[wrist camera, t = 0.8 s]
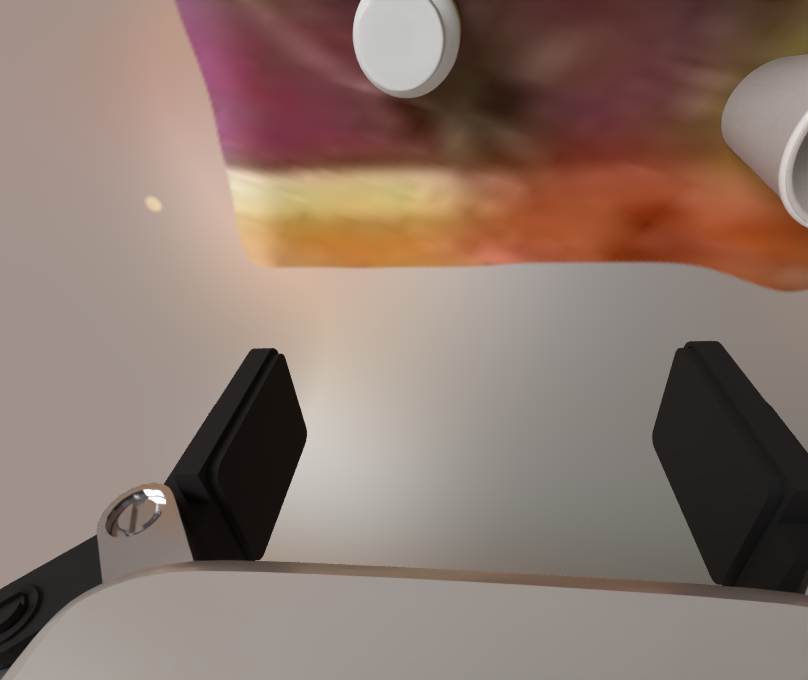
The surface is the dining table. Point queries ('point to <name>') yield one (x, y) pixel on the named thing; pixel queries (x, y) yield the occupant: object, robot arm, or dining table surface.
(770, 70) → the dixie cup
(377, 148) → the dining table surface
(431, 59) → the supplement bottle
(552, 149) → the dining table surface
